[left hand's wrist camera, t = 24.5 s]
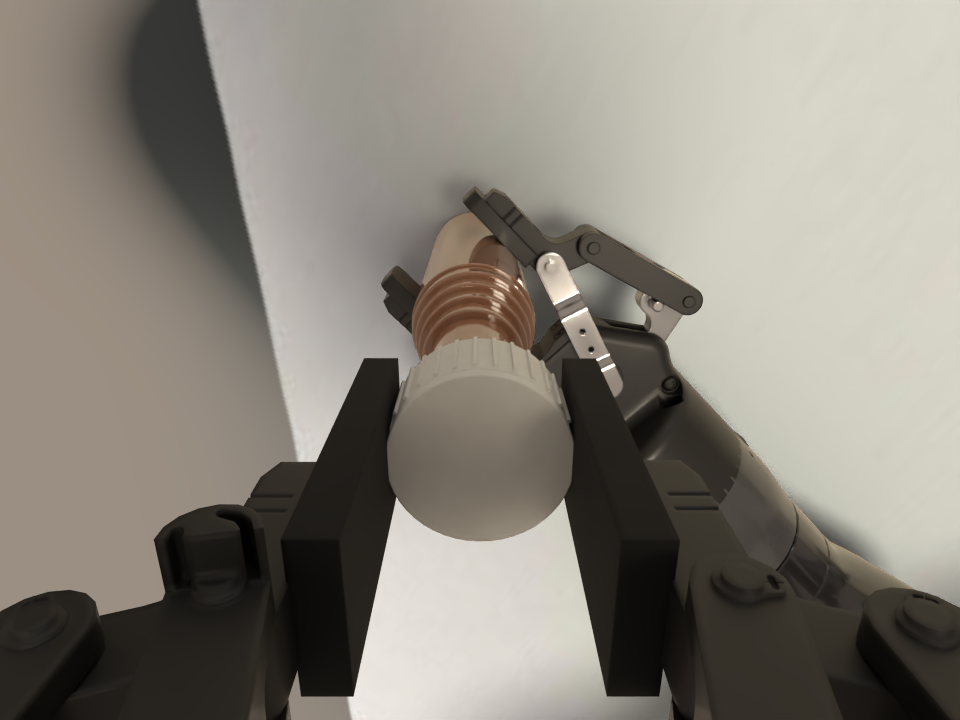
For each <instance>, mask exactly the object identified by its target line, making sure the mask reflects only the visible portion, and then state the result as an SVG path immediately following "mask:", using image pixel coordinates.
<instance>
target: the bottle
mask: <svg viewBox="0 0 960 720" xmlns="http://www.w3.org/2000/svg"><path fill="white" fill-rule="evenodd" d="M412 333H413V340H414V344H415V348H416V350H417V353H418V355H419V358H420V360H422V357H423V356H424V355H426V356H428V355H429V354H430V353H432V352H434V351H435V350H437V349H438V346H440V345H441V346H442V347H443V346H445V345H448V344H450V343H454V342H455V340H457V339H459V341H461V340H467V339H473V337H477V338H484V339H492V337H494V338H496V340H499V341H504V342H507V343H510V342H514V345H516V346H518V347H520V348H522V349H524V350H527V349H528V350H530V351H531V348H532V345H533V341H534V334H535V313H534V308H533V305H532V301H531V298H530V295H529V291H528V288H527V285H526V282H525V278H524V275H523V272H522V269H521V265H520V262H519V260H518V259H517V258H516V257H515V256H514V255H513V254H512V253H511V251H509V250H508V249H507V248H506V247H505V246H504V245H503V244H502V243H501V242H500V241H499V240H498V239H497V238H496V237H495V236H494V235H493V234H492V233H491V231H490V230H489V229H488V228H487V227H486V226H485V225H484V224H483V223H482V222H481V221H480V220H479V219H478V218H477V217H476V216H475V215H474V214H473V213H472V212H468V213H463V214H461V215H458V216H456V217H454V218H452V219H451V220H449V221H448V222H447V223H446V224H445V225H444V226H443V227H442V229H441V230H440V232H439V234H438V236H437V238H436V241H435V244H434V247H433V250H432V253H431V256H430V259H429V263H428V266H427V269H426V272H425V275H424V278H423V281H422V284H421V287H420V290H419V293H418V296H417V299H416V302H415V305H414V309H413V314H412Z"/></svg>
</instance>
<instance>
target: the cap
mask: <svg viewBox="0 0 960 720" xmlns="http://www.w3.org/2000/svg"><path fill="white" fill-rule="evenodd" d="M569 423H571V418H570V415H569V411H568V408H567V405H566V401H565V398H564V394H563V391H562V388H558V384H557V381H556V377H555V375H554V373H552V374H551V373H550V372H549V370H548V369H547V368H546V367H545V363H544V361H543V360H541V361H539V360H538V359H537V358H536V357H535V356H533V355H532V354H531V352H530V350H528V349H527V350H524V349H522V348H520V347H518V346H516V345H514V342H510V343H507V342H504V341H499V340H496V338H494V337H492V339H484V338H477V337H473V339H467V340H461V341H459V339H457V340H455V342H454V343H450V344H448V345H445V346H443V347H442V346H441V345H440V346H438V349H437V350H435V351H434V352H432V353H430V354H429V355H428V356H426V355H424V356H423V357H422V360H421V361H420V362H419V363H418V365H417V366H416V367H415V368H414V367H412V368H411V369H410V372H409V376H408V377H407V379H406V381H402V383H401V386H400V390H399V393H398V397H397V400H396V404H395V407H394V411H393V418H392V421H391V425H390V428H389V431H390V432H389V436H388V440H387V457H388V474H389V482H390V484H391V487H392V489H393V492H394V493H395V495H396V497H397V498H398V500H399V502H400V503H401V504H402V505H403V507H404V508H405V509H406V510H407V511H408V512H409V513H410V514H411V515H412V516H413V517H414V518H415V519H417V520H418V521H419V522H421V523H422V524H423V525H425V526H427V527H428V528H430V529H432V530H434V531H436V532H438V533H441V534H443V535H446V536H449V537H452V538H456V539H462V540H468V541H493V540H500V539H504V538H508V537H512V536H515V535H518V534H520V533H523V532H525V531H527V530H529V529H531V528H533V527H534V526H536V525H537V524H539V523H540V522H542V521H543V520H544V519H546V518H547V517H548V516H549V515H550V514H551V513H552V512H553V511H554V510H555V509H556V508H557V507H558V505H559V504H560V503H561V501H562V500H563V498H564V497H565V495H566V493H567V491H568V489H569V487H570V485H571V479H572V463H573V445H574V440H573V436H572V433H571V429H570V426H569Z"/></svg>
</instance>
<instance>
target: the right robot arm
mask: <svg viewBox="0 0 960 720" xmlns="http://www.w3.org/2000/svg"><path fill="white" fill-rule="evenodd" d="M463 202H464V204H465V205H466V206H467V207H468V209H469V210H470V211H471V212H472V213H473V214H474V215H475V216H476V217H477V218H478V219H479V220H480V221H481V222H482V223H483V224H484V225H485V226H486V227H487V228H488V229H489V230H490V231H491V233H492V234H493V235H494V236H495V237H496V238H497V239H498V240H499V241H500V242H501V243H502V244H503V245H504V246H505V247H506V248H507V249H508V250H509V251H511V253H512V254H513V255H514V256H515V257H516V258H517V259H518V260H519V262H520V263H521V264H522V265H523V266H524V267H527V266H528V265H529V264H530V265H531V266H532V267H533V269H534V270H535V271H536V272H537V273H538V275H539V277H540V279H541V281H542V283H543V285H544V287H545V289H546V291H547V293H548V295H549V297H550V299H551V301H552V303H553V305H554V307H555V309H556V311H557V313H558V316H559V318H560V319H559V320H558V321H557V322H556V323H555V324H553V325H552V326H551V327H550V328H549V329H548V331H547V333H546V334H545V336H544V337H543V339H542V340H541V341H540V342H539V343H538V344H536V345H534V346H532V348H531V351H530V352H531V354H532V355H533V356H535V357H536V358H537V359H538V360H539V361H541V360H543V361H544V363H545V367H546V368H547V369H548V370H549V372H550V373H551V374H552V373H554V375H555V377H556V381H557V384H558V388H561V376H562V358H596V359H597V361H598V363H599V366H600V368H601V370H602V372H603V374H604V376H605V379H606V381H607V383H608V385H609V387H610V389H611V392H612V394H613V396H614V398H615V400H616V402H617V405H618V407H619V409H620V411H621V413H622V415H623V417H624V420H625V422H626V424H627V426H628V428H629V430H630V433H631V435H632V437H633V439H634V441H635V443H636V446H637V448H638V450H639V452H640V454H641V456H642V459H643V460H680V461H682V462H683V463H684V464H686V465H687V466H688V467H690V468H691V469H692V470H694V471H695V472H696V473H698V474H699V475H700V476H701V478H702V479H703V481H704V483H705V484H706V486H707V488H708V490H709V491H710V496H713V498H714V500H715V501H716V503H717V505H718V506H719V510H721V511H722V513H723V515H724V516H725V518H726V520H727V521H728V523H729V525H730V526H731V528H732V530H733V531H734V533H735V535H736V536H737V538H738V540H739V541H740V543H741V545H742V546H743V548H744V550H745V551H746V553H747V555H748V556H749V557H750V558H753V559H755V560H757V561H760V562H762V563H764V564H766V565H768V566H771V567H772V568H773V569H775V570H776V571H777V572H778V573H780V574H781V575H782V576H783V577H785V578H786V579H787V581H788V582H789V584H790V585H791V587H792V588H793V590H794V591H795V594H796V596H797V597H799V598H801V599H804V600H807V601H811V602H814V603H817V604H822V605H826V606H831V607H835V608H840V609H844V610H849V611H853V612H858V613H862V612H863V608H864V604H865V601H866V599H867V598H868V597H869V596H870V595H871V594H872V593H873V592H874V591H876V590H881V589H886V588H891V587H894V588H905V589H913V588H912V587H910V586H908V585H907V584H905V583H903V582H902V581H900V580H898V579H897V578H895V577H893V576H892V575H890V574H888V573H887V572H885V571H883V570H881V569H880V568H878V567H876V566H875V565H873V564H871V563H870V562H868V561H866V560H864V559H863V558H861V557H859V556H858V555H856V554H854V553H853V552H851V551H849V550H847V549H845V548H843V547H841V546H838V545H836V544H835V543H833V542H831V541H829V540H828V539H827V538H826V537H825V536H824V535H823V533H822V532H821V531H820V530H819V529H818V528H817V527H816V526H815V525H814V524H813V523H812V521H811V520H810V519H809V518H808V517H807V516H806V515H805V514H804V513H803V512H802V511H801V510H800V509H799V508H798V507H797V506H796V504H795V503H794V502H793V501H792V500H791V499H790V498H789V497H788V496H787V495H786V494H785V492H784V491H783V490H782V488H781V487H780V485H779V484H778V482H777V481H776V479H775V478H774V476H773V475H772V473H771V472H770V471H769V469H768V468H767V467H766V465H765V464H764V463H763V462H762V461H761V460H760V458H759V457H758V456H757V455H756V454H755V453H754V452H753V451H752V450H751V449H750V448H749V446H748V444H747V443H746V441H745V440H744V439H743V438H742V437H741V436H740V435H739V434H738V433H736V432H735V431H733V430H732V429H731V428H730V426H729V425H728V424H727V423H726V422H725V421H724V420H723V419H722V418H721V417H720V416H719V415H718V414H717V413H716V412H715V410H714V409H713V408H712V407H711V406H710V405H709V404H708V403H707V402H706V401H705V400H704V399H703V398H702V397H701V395H700V394H699V393H698V392H697V391H696V390H695V389H694V388H693V387H692V386H691V385H690V384H689V383H688V382H687V381H686V379H685V378H684V377H683V376H682V375H681V374H680V373H679V372H678V371H677V370H676V369H675V368H674V366H673V365H672V362H671V359H670V354H669V349H668V346H667V344H666V343H665V341H666V339H667V338H668V336H669V335H670V333H671V332H672V330H673V329H674V327H675V326H676V324H677V323H678V321H679V320H680V319H681V317H682V316H683V315H692V314H694V313H696V312H697V311H698V310H699V309H700V308H701V306H702V303H703V297H702V294H701V293H700V292H699V291H698V290H697V289H696V288H695V287H693V286H692V285H691V284H689V283H688V282H687V281H685V280H684V279H683V278H682V277H680V276H678V275H677V274H675V273H673V272H671V271H670V270H668V269H666V268H664V267H663V266H661V265H659V264H657V263H656V262H654V261H652V260H650V259H649V258H647V257H645V256H643V255H642V254H640V253H638V252H636V251H634V250H633V249H631V248H629V247H627V246H626V245H624V244H622V243H620V242H619V241H617V240H615V239H613V238H612V237H610V236H608V235H606V234H605V233H603V232H601V231H599V230H598V229H596V228H594V227H592V226H590V225H586V224H584V225H580V226H578V227H577V228H575V229H574V231H572V232H570V233H568V234H566V235H563V236H561V237H557V238H551V237H547V236H545V235H544V234H542V233H541V232H540V231H539V229H538V228H537V227H536V226H535V225H534V224H533V223H532V222H531V221H530V220H529V219H528V218H527V217H526V216H525V215H524V213H523V212H522V211H521V210H520V209H519V208H518V207H517V206H516V205H515V204H514V203H513V202H512V201H511V200H510V199H509V197H508V196H507V195H506V194H505V193H503V192H501V191H498V190H496V189H494V188H493V189H492V190H491V191H490V192H489V193H488V194H487V195H486V196H485V195H484V194H483V193H482V192H481V191H480V190H479V189H478V188H477V187H474V188H473V189H472V190H471V191H470V192H469V193H468V194H467V195H466V196H465V197H464V198H463ZM588 262H589V263H591V264H592V265H594V266H596V267H598V268H600V269H601V270H603V271H605V272H607V273H609V274H610V275H612V276H614V277H616V278H618V279H619V280H621V281H623V282H625V283H627V284H628V285H630V286H632V287H634V288H636V289H637V290H638V291H637V292H636V296H635V300H636V303H637V305H638V306H639V307H640V308H641V309H642V310H643V312H645V314H646V321H645V324H644V325H638V324H632V323H626V322H620V321H614V320H608V319H602V318H596V317H591V315H590V313H589V311H588V309H587V307H586V305H585V303H584V301H583V299H582V297H581V295H580V293H579V291H578V289H577V287H576V285H575V282H574V280H573V278H572V276H571V274H570V272H569V271H570V270H572V269H575V268H577V267H579V266H582V265H584V264H586V263H588ZM381 285H382V287H383V289H384V290H385V291H386V292H387V295H386V297H385V299H384V304H385V306H386V308H387V310H388V312H389V313H390V314H391V315H392V316H393V317H394V318H395V319H396V320H397V321H399V322H400V323H401V324H402V325H403V326H404V327H405V328H406V329H407V330H408V331H409V332H410V333H411V334H412V335H413V333H412V314H413V309H414V305H415V302H416V299H417V296H418V293H419V290H420V286H419V285H418V284H417V283H416V282H415V281H414V280H413V279H412V278H411V277H410V276H409V275H408V274H407V273H406V272H405V271H404V270H403V269H401V268H400V267H398V266H395V267H394V268H393V269H392V270H391V271H390V272H389V273H388V274H387V275H386V276H385V277H384V279H383V281H382V283H381ZM914 590H915V589H914Z"/></svg>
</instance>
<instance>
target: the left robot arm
mask: <svg viewBox="0 0 960 720" xmlns="http://www.w3.org/2000/svg"><path fill="white" fill-rule="evenodd" d="M561 388H562V391H563V394H564V398H565V401H566V405H567V408H568V411H569V415H570V418H571V423H569V426H570V429H571V433H572V436H573V440H574V445H573V463H572V479H571V485H570V487H569V489H568V491H567V493H566V495H565V497H564V499H565V504H566V508H567V513H568V518H569V522H570V527H571V531H572V536H573V541H574V545H575V550H576V555H577V559H578V564H579V569H580V573H581V578H582V583H583V587H584V592H585V597H586V601H587V606H588V610H589V615H590V620H591V624H592V629H593V634H594V638H595V643H596V648H597V652H598V657H599V662H600V666H601V671H602V676H603V680H604V685H605V690H606V694H607V696H659V694H660V687H661V680H662V672H663V669H664V672H665V675H666V678H667V681H668V684H669V687H670V690H671V693H672V701H671V708H670V715H669V720H960V608H959V607H957V606H955V605H953V604H951V603H949V602H947V601H945V600H943V599H941V598H939V597H937V596H934V595H931V594H928V593H924V592H920V591H917V590H914V589H905V588H894V587H891V588H886V589H881V590H876V591H874V592H873V593H872V594H871V595H870V596H869V597H868V598H867V599H866V601H865V604H864V608H863V612H862V613H858V612H853V611H849V610H844V609H840V608H835V607H831V606H826V605H822V604H817V603H814V602H811V601H807V600H804V599H801V598H799V597H797V596H796V594H795V591H794V590H793V588H792V587H791V585H790V584H789V582H788V581H787V579H786V578H785V577H783V576H782V575H781V574H780V573H778V572H777V571H776V570H775V569H773V568H772V567H771V566H768V565H766V564H764V563H762V562H760V561H757V560H755V559H753V558H750V557H749V556H748V555H747V553H746V551H745V550H744V548H743V546H742V545H741V543H740V541H739V540H738V538H737V536H736V535H735V533H734V531H733V530H732V528H731V526H730V525H729V523H728V521H727V520H726V518H725V516H724V515H723V513H722V511H721V510H719V506H718V505H717V503H716V501H715V500H714V498H713V496H710V491H709V490H708V488H707V486H706V484H705V483H704V481H703V479H702V478H701V476H700V475H699V474H698V473H696V472H695V471H694V470H692V469H691V468H690V467H688V466H687V465H686V464H684V463H683V462H682V461H680V460H643V459H642V456H641V454H640V452H639V450H638V448H637V446H636V443H635V441H634V439H633V437H632V435H631V433H630V430H629V428H628V426H627V424H626V422H625V420H624V417H623V415H622V413H621V411H620V409H619V407H618V405H617V402H616V400H615V398H614V396H613V394H612V392H611V389H610V387H609V385H608V383H607V381H606V379H605V376H604V374H603V372H602V370H601V368H600V366H599V363H598V361H597V359H596V358H562V376H561ZM399 390H400V388H399V367H398V358H364V360H363V362H362V364H361V367H360V369H359V371H358V373H357V375H356V377H355V379H354V382H353V384H352V386H351V388H350V390H349V392H348V395H347V397H346V399H345V401H344V403H343V405H342V408H341V410H340V412H339V414H338V416H337V418H336V421H335V423H334V425H333V427H332V429H331V431H330V434H329V436H328V438H327V440H326V442H325V444H324V447H323V449H322V451H321V453H320V455H319V457H318V459H317V462H280V463H279V464H278V465H276V466H275V467H274V468H272V469H271V470H270V471H268V472H267V473H266V474H264V475H263V476H262V477H261V478H260V479H259V481H258V483H257V484H256V486H255V488H254V489H253V491H252V493H251V497H250V498H248V500H247V501H246V503H245V505H244V506H241V505H225V504H219V505H214V506H209V507H204V508H199V509H196V510H194V511H191V512H189V513H186V514H184V515H181V516H179V517H178V518H176V519H175V520H173V521H172V522H170V523H169V524H167V525H166V526H164V527H163V528H162V530H161V531H160V532H159V534H158V535H157V536H156V537H155V539H154V542H155V547H156V552H157V556H158V561H159V565H160V569H161V574H162V579H163V583H164V588H165V595H164V598H163V600H161V601H159V602H156V603H152V604H149V605H146V606H142V607H137V608H133V609H128V610H124V611H119V612H115V613H110V614H106V615H101V616H99V614H98V610H97V606H96V602H95V601H94V600H93V599H92V598H91V597H90V596H88V595H87V594H86V593H82V592H77V591H72V590H64V591H53V592H47V593H43V594H40V595H37V596H33V597H30V598H27V599H24V600H22V601H20V602H18V603H16V604H14V605H12V606H10V607H8V608H6V609H4V610H2V611H1V612H0V720H291V715H290V708H289V701H288V698H289V695H290V692H291V688H292V685H293V682H294V679H295V676H296V673H297V670H298V677H299V684H300V691H301V696H354V691H355V687H356V682H357V677H358V673H359V668H360V663H361V659H362V654H363V650H364V645H365V640H366V636H367V631H368V626H369V622H370V617H371V612H372V608H373V603H374V598H375V594H376V589H377V584H378V580H379V575H380V570H381V566H382V561H383V557H384V552H385V547H386V543H387V538H388V533H389V529H390V524H391V519H392V515H393V510H394V505H395V501H396V495H395V493H394V492H393V489H392V487H391V484H390V482H389V474H388V457H387V440H388V436H389V432H390V431H389V428H390V425H391V421H392V418H393V411H394V407H395V404H396V400H397V397H398V393H399Z"/></svg>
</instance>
